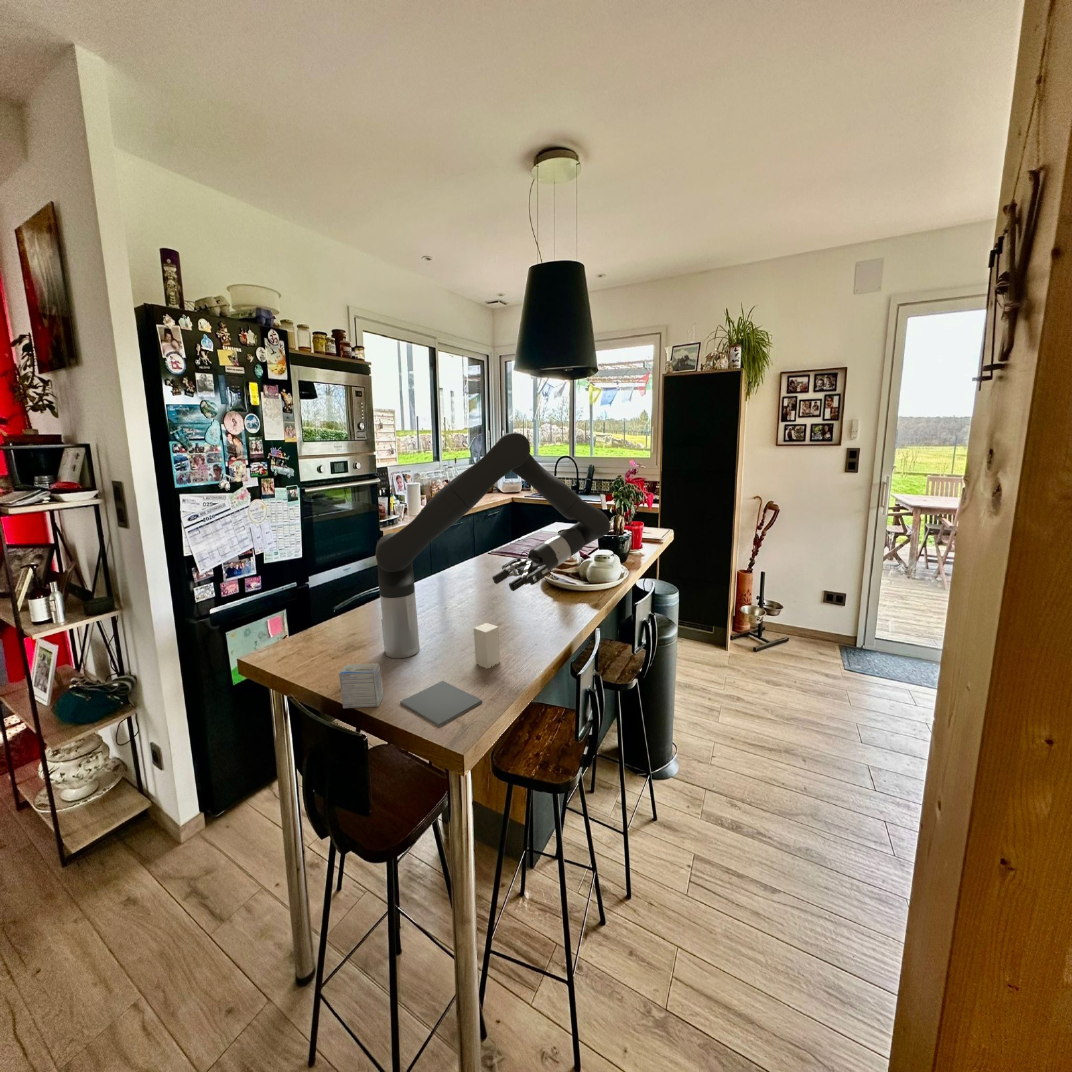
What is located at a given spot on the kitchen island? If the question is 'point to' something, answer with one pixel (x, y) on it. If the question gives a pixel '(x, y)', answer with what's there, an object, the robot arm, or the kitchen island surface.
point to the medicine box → (361, 685)
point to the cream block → (487, 645)
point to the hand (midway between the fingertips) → (502, 584)
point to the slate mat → (441, 703)
